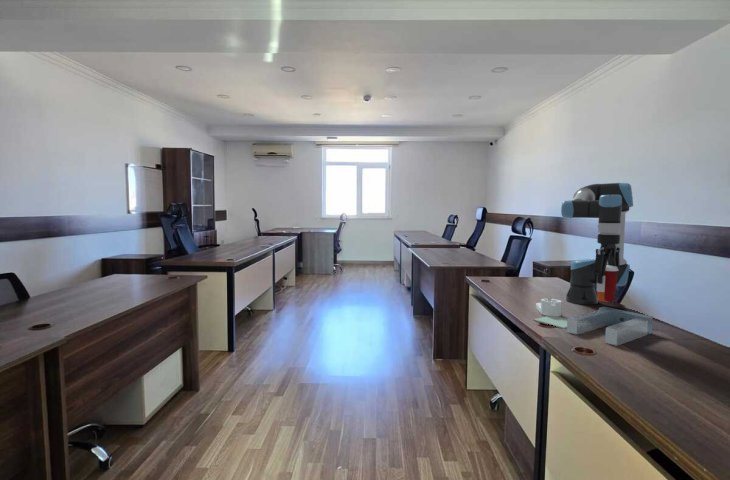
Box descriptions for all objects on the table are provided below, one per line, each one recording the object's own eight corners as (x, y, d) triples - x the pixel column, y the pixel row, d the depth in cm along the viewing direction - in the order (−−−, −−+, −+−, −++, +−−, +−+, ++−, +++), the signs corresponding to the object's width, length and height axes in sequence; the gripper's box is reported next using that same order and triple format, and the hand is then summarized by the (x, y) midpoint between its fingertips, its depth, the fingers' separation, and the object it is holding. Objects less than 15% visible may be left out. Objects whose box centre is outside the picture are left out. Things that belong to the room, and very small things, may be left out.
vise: (612, 318, 177) (613, 304, 176) (661, 329, 161) (662, 313, 160) (566, 332, 158) (567, 315, 157) (616, 346, 142) (617, 327, 141)
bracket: (563, 316, 178) (563, 302, 178) (542, 315, 180) (543, 301, 180) (553, 307, 197) (553, 294, 197) (535, 306, 199) (535, 294, 199)
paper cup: (618, 300, 154) (620, 266, 153) (615, 304, 149) (616, 268, 148) (596, 297, 160) (598, 264, 158) (592, 300, 154) (593, 266, 153)
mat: (552, 316, 182) (552, 314, 182) (581, 323, 170) (581, 322, 170) (533, 320, 174) (533, 319, 174) (563, 328, 163) (563, 327, 162)
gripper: (612, 232, 160) (609, 285, 162) (584, 234, 150) (582, 291, 152) (632, 233, 154) (629, 289, 156) (605, 235, 143) (602, 295, 145)
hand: (606, 290), depth 154 cm, fingers closed on paper cup, 8 cm apart
